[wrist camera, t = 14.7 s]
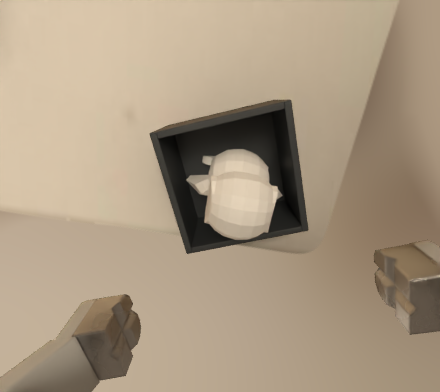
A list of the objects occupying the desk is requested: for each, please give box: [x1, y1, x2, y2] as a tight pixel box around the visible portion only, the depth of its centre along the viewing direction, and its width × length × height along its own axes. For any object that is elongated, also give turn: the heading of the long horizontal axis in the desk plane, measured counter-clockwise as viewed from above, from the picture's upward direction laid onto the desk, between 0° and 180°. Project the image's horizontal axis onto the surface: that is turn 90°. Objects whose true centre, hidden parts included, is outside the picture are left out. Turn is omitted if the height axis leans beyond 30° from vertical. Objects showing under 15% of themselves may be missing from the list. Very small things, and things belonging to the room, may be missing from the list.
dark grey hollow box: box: [150, 100, 308, 254], centre depth 23 cm, size 10×10×6 cm
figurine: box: [186, 149, 283, 240], centre depth 20 cm, size 8×5×12 cm, turn 81°
